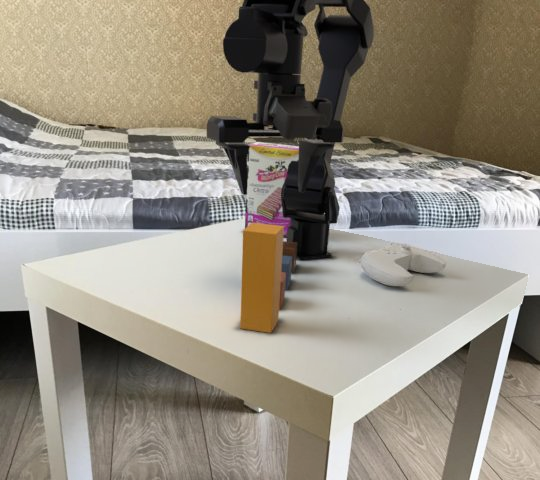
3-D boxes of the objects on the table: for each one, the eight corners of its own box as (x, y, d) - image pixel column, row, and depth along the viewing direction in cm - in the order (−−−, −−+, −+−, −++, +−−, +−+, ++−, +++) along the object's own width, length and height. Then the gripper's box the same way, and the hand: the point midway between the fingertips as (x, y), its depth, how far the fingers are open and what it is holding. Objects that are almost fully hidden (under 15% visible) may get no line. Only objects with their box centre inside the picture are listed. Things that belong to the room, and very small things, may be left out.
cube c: (256, 296, 83) (257, 269, 81) (284, 299, 82) (286, 272, 80) (252, 306, 79) (253, 278, 77) (280, 309, 79) (282, 281, 77)
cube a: (272, 263, 96) (273, 240, 94) (296, 265, 96) (297, 242, 94) (268, 271, 93) (270, 246, 91) (293, 273, 92) (295, 249, 90)
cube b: (265, 278, 89) (266, 253, 88) (290, 281, 89) (292, 256, 87) (261, 287, 86) (262, 261, 84) (287, 290, 85) (289, 264, 84)
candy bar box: (243, 232, 113) (246, 143, 105) (252, 226, 117) (255, 141, 110) (298, 240, 110) (304, 149, 102) (305, 233, 114) (312, 146, 107)
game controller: (406, 275, 84) (354, 245, 89) (396, 300, 87) (346, 270, 92) (454, 257, 94) (404, 231, 99) (444, 280, 96) (396, 254, 101)
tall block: (248, 316, 76) (252, 222, 70) (278, 321, 75) (284, 225, 69) (240, 328, 72) (242, 230, 67) (270, 333, 72) (276, 234, 66)
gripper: (235, 72, 67) (233, 208, 74) (371, 79, 74) (357, 202, 81) (205, 69, 75) (205, 191, 83) (329, 75, 83) (319, 187, 90)
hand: (273, 193), depth 84 cm, fingers open, 9 cm apart
